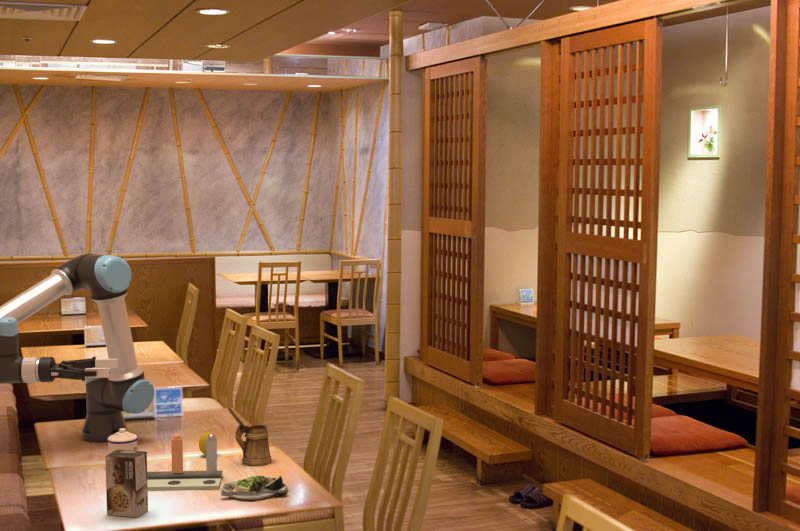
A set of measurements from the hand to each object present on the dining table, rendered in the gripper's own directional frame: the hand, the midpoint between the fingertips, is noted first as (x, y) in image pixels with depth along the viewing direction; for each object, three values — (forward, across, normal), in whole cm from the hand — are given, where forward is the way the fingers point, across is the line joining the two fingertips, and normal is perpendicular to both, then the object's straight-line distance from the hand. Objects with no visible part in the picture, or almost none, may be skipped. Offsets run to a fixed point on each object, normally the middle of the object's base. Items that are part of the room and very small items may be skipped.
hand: (113, 367), depth 287 cm
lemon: (+26, -14, -32) cm, 44 cm away
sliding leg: (+19, +9, -30) cm, 37 cm away
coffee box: (+9, +37, -32) cm, 50 cm away
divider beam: (+19, +10, -32) cm, 38 cm away
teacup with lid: (+1, -7, -32) cm, 33 cm away
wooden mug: (+40, -6, -33) cm, 52 cm away
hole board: (+20, +16, -32) cm, 41 cm away
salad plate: (+43, +22, -33) cm, 58 cm away
